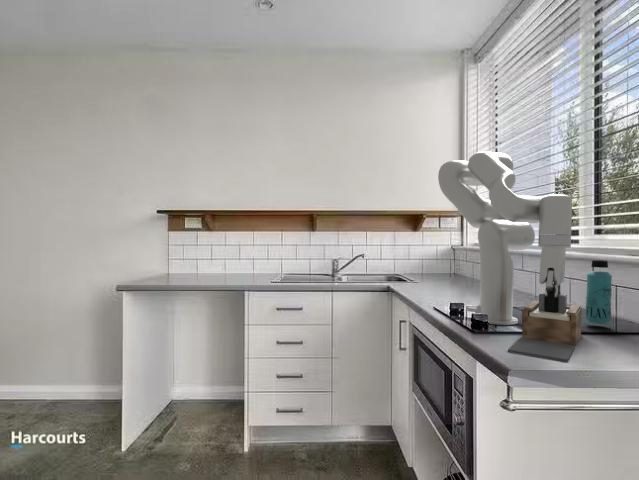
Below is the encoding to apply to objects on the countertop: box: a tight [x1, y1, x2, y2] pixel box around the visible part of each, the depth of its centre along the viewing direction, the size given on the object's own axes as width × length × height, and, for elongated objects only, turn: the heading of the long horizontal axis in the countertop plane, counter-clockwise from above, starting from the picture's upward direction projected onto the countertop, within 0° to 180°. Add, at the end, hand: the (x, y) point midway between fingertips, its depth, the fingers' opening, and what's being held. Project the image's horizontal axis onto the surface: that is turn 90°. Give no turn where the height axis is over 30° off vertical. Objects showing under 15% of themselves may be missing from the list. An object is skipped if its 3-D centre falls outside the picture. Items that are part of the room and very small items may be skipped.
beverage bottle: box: [584, 259, 613, 325], centre depth 124 cm, size 6×7×20 cm
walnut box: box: [521, 300, 583, 348], centre depth 111 cm, size 12×14×8 cm
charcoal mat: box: [507, 337, 576, 363], centre depth 98 cm, size 12×14×1 cm
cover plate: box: [529, 291, 571, 321], centre depth 111 cm, size 9×12×6 cm
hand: (552, 309), depth 111 cm, fingers closed on cover plate, 4 cm apart
